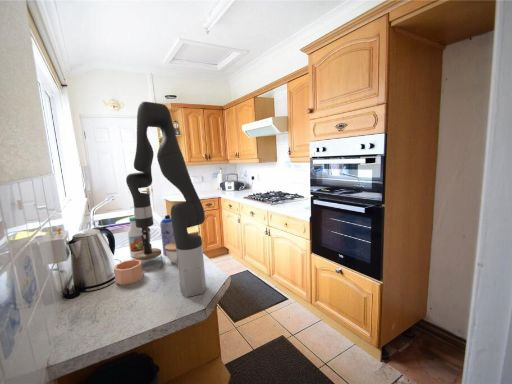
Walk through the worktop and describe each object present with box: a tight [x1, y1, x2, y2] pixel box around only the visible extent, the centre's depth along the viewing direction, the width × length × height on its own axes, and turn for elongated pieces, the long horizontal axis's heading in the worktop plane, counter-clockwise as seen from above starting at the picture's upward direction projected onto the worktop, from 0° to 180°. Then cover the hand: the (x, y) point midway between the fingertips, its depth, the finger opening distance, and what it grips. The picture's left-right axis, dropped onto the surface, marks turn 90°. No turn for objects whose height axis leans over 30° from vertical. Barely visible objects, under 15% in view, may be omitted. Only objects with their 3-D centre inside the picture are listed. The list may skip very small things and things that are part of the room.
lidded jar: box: [165, 242, 178, 264], centre depth 123 cm, size 11×11×9 cm
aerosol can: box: [159, 214, 175, 257], centre depth 132 cm, size 8×8×20 cm
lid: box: [134, 243, 162, 260], centre depth 120 cm, size 12×12×5 cm
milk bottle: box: [127, 215, 143, 258], centre depth 132 cm, size 8×8×20 cm
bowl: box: [113, 258, 144, 286], centre depth 107 cm, size 10×10×6 cm
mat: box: [141, 255, 163, 271], centre depth 121 cm, size 11×11×1 cm
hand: (147, 251), depth 120 cm, fingers closed on lid, 3 cm apart
